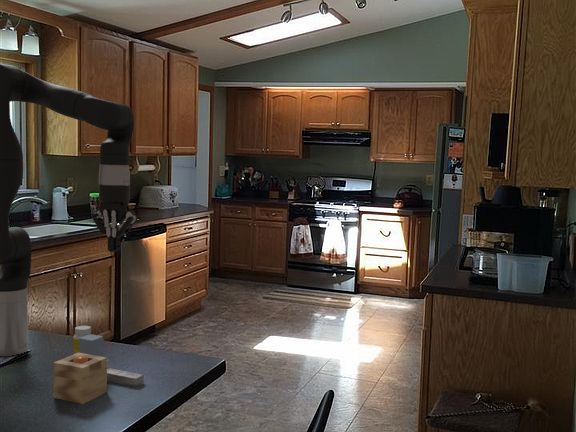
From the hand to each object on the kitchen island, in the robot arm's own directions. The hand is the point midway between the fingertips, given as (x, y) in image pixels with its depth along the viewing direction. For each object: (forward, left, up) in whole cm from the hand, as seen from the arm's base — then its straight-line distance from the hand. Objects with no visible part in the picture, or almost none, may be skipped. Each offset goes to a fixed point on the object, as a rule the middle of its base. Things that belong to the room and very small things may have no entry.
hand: (114, 251), depth 165 cm
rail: (+6, -10, -29) cm, 31 cm away
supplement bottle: (-9, -1, -29) cm, 31 cm away
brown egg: (+7, -21, -24) cm, 32 cm away
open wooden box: (+7, -21, -29) cm, 36 cm away
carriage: (+1, -10, -29) cm, 31 cm away
